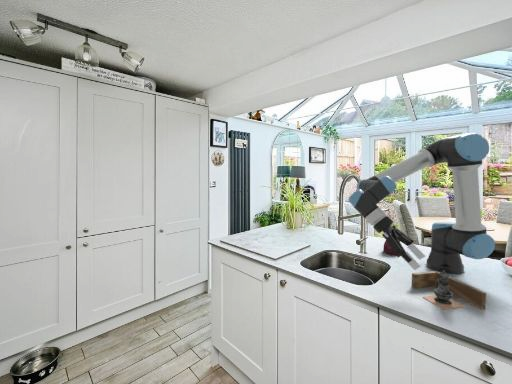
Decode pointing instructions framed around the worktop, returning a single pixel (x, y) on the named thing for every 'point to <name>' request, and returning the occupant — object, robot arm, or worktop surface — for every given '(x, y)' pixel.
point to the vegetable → (388, 249)
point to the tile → (443, 306)
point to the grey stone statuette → (443, 289)
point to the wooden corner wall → (451, 287)
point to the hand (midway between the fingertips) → (420, 262)
